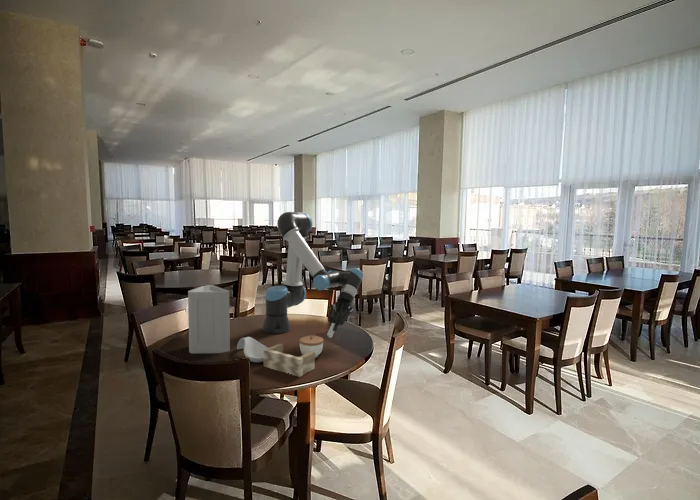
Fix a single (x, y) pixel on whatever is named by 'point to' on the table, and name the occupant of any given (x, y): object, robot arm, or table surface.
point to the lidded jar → (311, 344)
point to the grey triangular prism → (209, 320)
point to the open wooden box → (288, 361)
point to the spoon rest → (252, 349)
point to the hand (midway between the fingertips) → (329, 336)
